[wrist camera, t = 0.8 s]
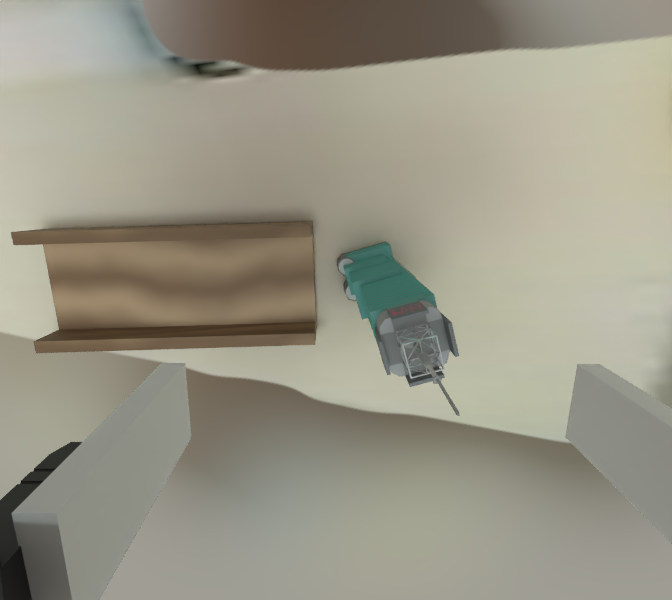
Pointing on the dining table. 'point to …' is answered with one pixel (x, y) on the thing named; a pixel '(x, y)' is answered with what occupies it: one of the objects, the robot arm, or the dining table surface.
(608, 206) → the dining table surface
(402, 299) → the building
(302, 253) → the tray
